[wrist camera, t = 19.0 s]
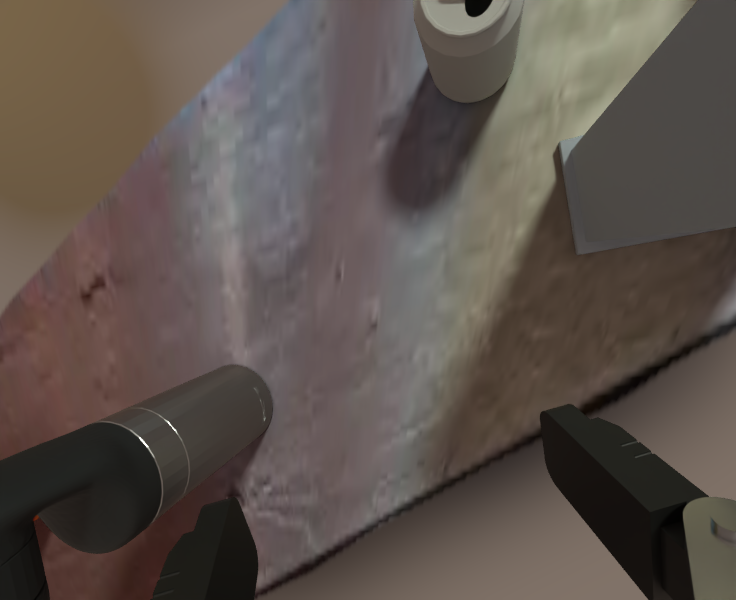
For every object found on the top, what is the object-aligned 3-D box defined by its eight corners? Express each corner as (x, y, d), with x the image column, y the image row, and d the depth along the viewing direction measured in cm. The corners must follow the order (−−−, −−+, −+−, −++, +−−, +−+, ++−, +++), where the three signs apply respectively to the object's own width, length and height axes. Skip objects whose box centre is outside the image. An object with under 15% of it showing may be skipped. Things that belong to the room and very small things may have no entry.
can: (492, 117, 39) (495, 60, 27) (418, 91, 40) (391, 27, 29) (530, 33, 37) (549, -66, 26) (451, 9, 39) (436, -94, 27)
